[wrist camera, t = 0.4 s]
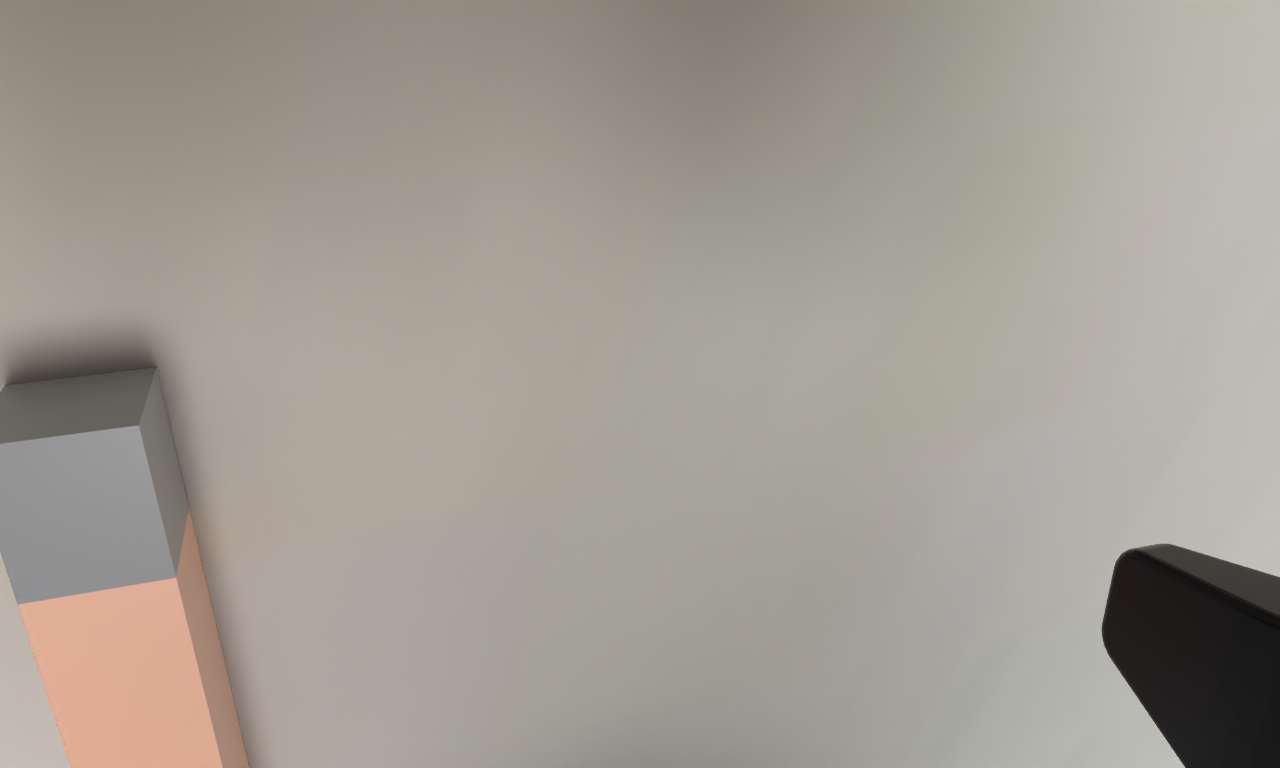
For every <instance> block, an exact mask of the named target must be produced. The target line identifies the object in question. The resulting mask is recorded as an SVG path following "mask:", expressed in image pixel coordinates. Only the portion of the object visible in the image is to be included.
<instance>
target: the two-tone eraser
mask: <svg viewBox="0 0 1280 768" xmlns="http://www.w3.org/2000/svg"><path fill="white" fill-rule="evenodd" d="M0 552H1V555H2V558H3V561H4V564H5V567H6V570H7V573H8V576H9V579H10V582H11V585H12V588H13V592H14V595H15V598H16V601H17V604H18V607H19V610H20V613H21V616H22V619H23V622H24V625H25V628H26V631H27V634H28V637H29V640H30V643H31V647H32V650H33V653H34V656H35V659H36V662H37V665H38V668H39V671H40V674H41V677H42V680H43V683H44V686H45V689H46V692H47V695H48V698H49V702H50V705H51V708H52V711H53V714H54V717H55V720H56V723H57V726H58V729H59V732H60V735H61V738H62V741H63V744H64V747H65V750H66V753H67V757H68V760H69V763H70V766H71V768H249V764H248V760H247V755H246V751H245V747H244V742H243V738H242V734H241V729H240V725H239V721H238V716H237V712H236V708H235V703H234V699H233V695H232V690H231V686H230V682H229V677H228V673H227V669H226V664H225V660H224V656H223V651H222V647H221V643H220V638H219V634H218V630H217V625H216V621H215V617H214V612H213V608H212V604H211V599H210V595H209V591H208V586H207V582H206V578H205V573H204V569H203V565H202V560H201V556H200V552H199V547H198V543H197V539H196V534H195V530H194V526H193V521H192V517H191V513H190V508H189V504H188V500H187V495H186V491H185V487H184V482H183V478H182V474H181V469H180V465H179V461H178V456H177V452H176V448H175V443H174V439H173V435H172V430H171V426H170V422H169V417H168V413H167V409H166V404H165V400H164V396H163V392H162V387H161V383H160V379H159V374H158V370H157V367H151V368H142V369H134V370H126V371H118V372H109V373H101V374H93V375H85V376H76V377H68V378H60V379H52V380H43V381H35V382H27V383H19V384H10V385H5V387H4V388H3V390H2V392H1V393H0Z"/></svg>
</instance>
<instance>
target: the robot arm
mask: <svg viewBox="0 0 1280 768" xmlns="http://www.w3.org/2000/svg"><path fill="white" fill-rule="evenodd" d="M1102 638H1103V642H1104V646H1105V648H1106V650H1107V653H1108V655H1109V656H1110V658H1111V660H1112V661H1113V662H1114V664H1115V665H1116V667H1117V668H1118V670H1119V671H1120V673H1121V674H1122V676H1123V677H1124V679H1125V680H1126V681H1127V683H1128V684H1129V686H1130V687H1131V689H1132V690H1133V692H1134V693H1135V695H1136V696H1137V698H1138V699H1139V700H1140V702H1141V703H1142V705H1143V706H1144V708H1145V709H1146V711H1147V712H1148V714H1149V715H1150V717H1151V718H1152V719H1153V721H1154V722H1155V724H1156V725H1157V727H1158V728H1159V730H1160V731H1161V733H1162V734H1163V736H1164V737H1165V738H1166V740H1167V741H1168V743H1169V744H1170V746H1171V747H1172V749H1173V750H1174V752H1175V753H1176V755H1177V756H1178V757H1179V759H1180V760H1181V762H1182V763H1183V765H1184V766H1185V768H1280V577H1277V576H1274V575H1271V574H1267V573H1264V572H1261V571H1257V570H1254V569H1251V568H1248V567H1244V566H1241V565H1238V564H1234V563H1231V562H1228V561H1224V560H1221V559H1218V558H1215V557H1211V556H1208V555H1205V554H1201V553H1198V552H1195V551H1192V550H1188V549H1185V548H1182V547H1178V546H1175V545H1171V544H1155V545H1150V546H1145V547H1139V548H1134V549H1130V550H1127V551H1125V552H1124V553H1122V554H1121V555H1120V557H1119V558H1118V560H1117V561H1116V563H1115V566H1114V570H1113V575H1112V580H1111V585H1110V589H1109V594H1108V599H1107V604H1106V608H1105V613H1104V618H1103V623H1102Z"/></svg>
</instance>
